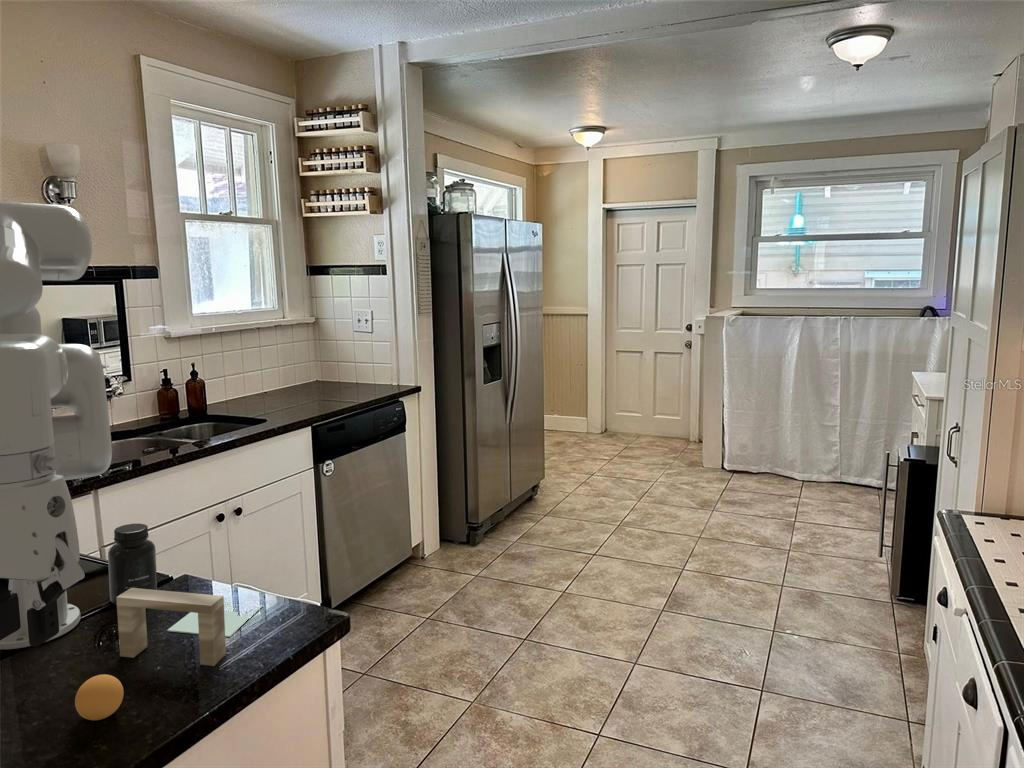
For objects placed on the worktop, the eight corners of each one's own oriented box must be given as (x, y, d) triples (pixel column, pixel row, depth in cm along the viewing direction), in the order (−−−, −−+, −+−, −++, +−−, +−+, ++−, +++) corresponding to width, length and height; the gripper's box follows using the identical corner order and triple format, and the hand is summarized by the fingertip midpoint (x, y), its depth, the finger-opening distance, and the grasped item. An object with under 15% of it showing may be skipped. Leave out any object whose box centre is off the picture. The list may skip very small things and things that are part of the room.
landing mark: (167, 631, 104) (167, 630, 104) (205, 601, 114) (205, 600, 114) (230, 637, 102) (229, 636, 102) (263, 606, 112) (263, 605, 112)
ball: (66, 727, 81) (63, 687, 81) (97, 702, 86) (94, 664, 86) (104, 731, 81) (102, 691, 80) (134, 706, 86) (131, 668, 85)
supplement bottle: (137, 609, 110) (133, 537, 109) (100, 605, 112) (95, 533, 110) (167, 591, 117) (163, 522, 115) (131, 587, 118) (127, 519, 117)
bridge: (213, 666, 95) (211, 605, 94) (120, 656, 97) (116, 597, 95) (225, 654, 98) (223, 595, 96) (134, 645, 100) (131, 587, 98)
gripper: (113, 461, 72) (123, 627, 75) (-30, 452, 74) (-15, 614, 77) (55, 481, 65) (70, 665, 67) (-101, 470, 67) (-81, 649, 70)
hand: (25, 636), depth 72 cm, fingers open, 3 cm apart
